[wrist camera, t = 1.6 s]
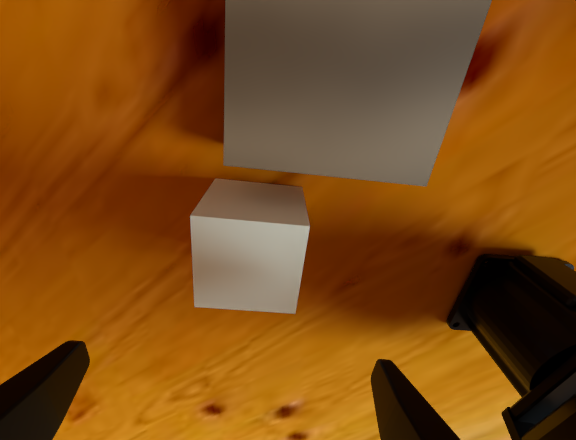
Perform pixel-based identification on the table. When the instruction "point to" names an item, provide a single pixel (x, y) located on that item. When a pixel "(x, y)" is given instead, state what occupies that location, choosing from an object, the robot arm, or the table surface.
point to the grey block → (345, 84)
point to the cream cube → (249, 246)
